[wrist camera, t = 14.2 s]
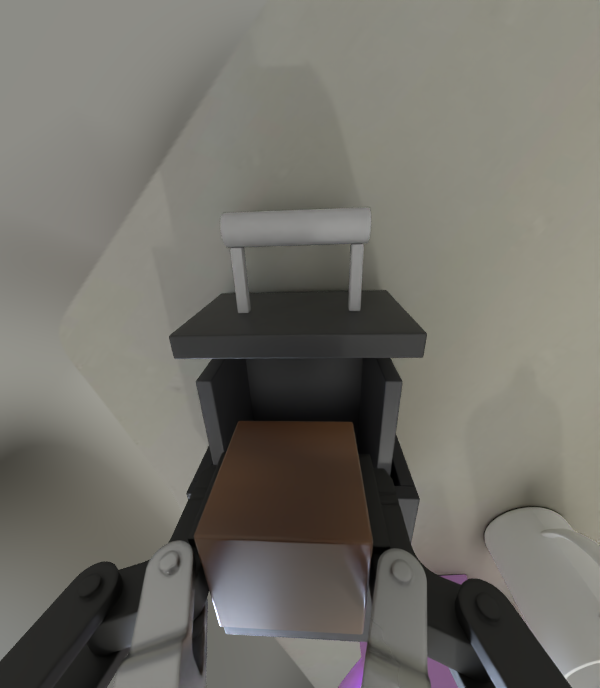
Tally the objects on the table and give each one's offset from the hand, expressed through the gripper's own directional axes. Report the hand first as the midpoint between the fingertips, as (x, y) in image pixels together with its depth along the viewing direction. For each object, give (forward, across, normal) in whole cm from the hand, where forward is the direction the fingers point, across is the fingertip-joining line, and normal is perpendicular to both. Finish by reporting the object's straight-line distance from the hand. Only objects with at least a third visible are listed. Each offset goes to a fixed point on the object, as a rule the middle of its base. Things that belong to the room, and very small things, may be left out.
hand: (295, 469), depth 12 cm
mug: (+12, -22, +19) cm, 31 cm away
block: (0, 0, 0) cm, 0 cm away
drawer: (+11, 0, 0) cm, 11 cm away
